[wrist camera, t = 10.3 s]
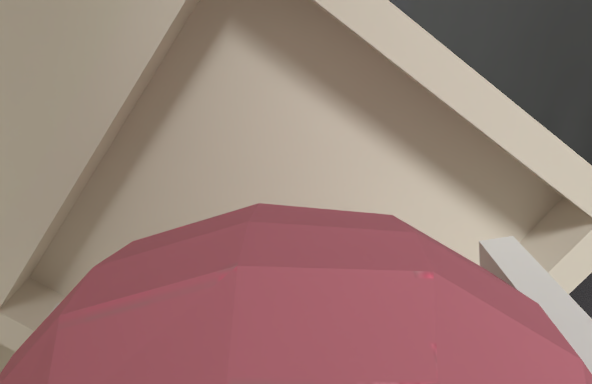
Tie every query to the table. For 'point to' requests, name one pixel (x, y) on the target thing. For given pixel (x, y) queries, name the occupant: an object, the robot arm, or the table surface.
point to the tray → (256, 135)
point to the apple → (294, 310)
